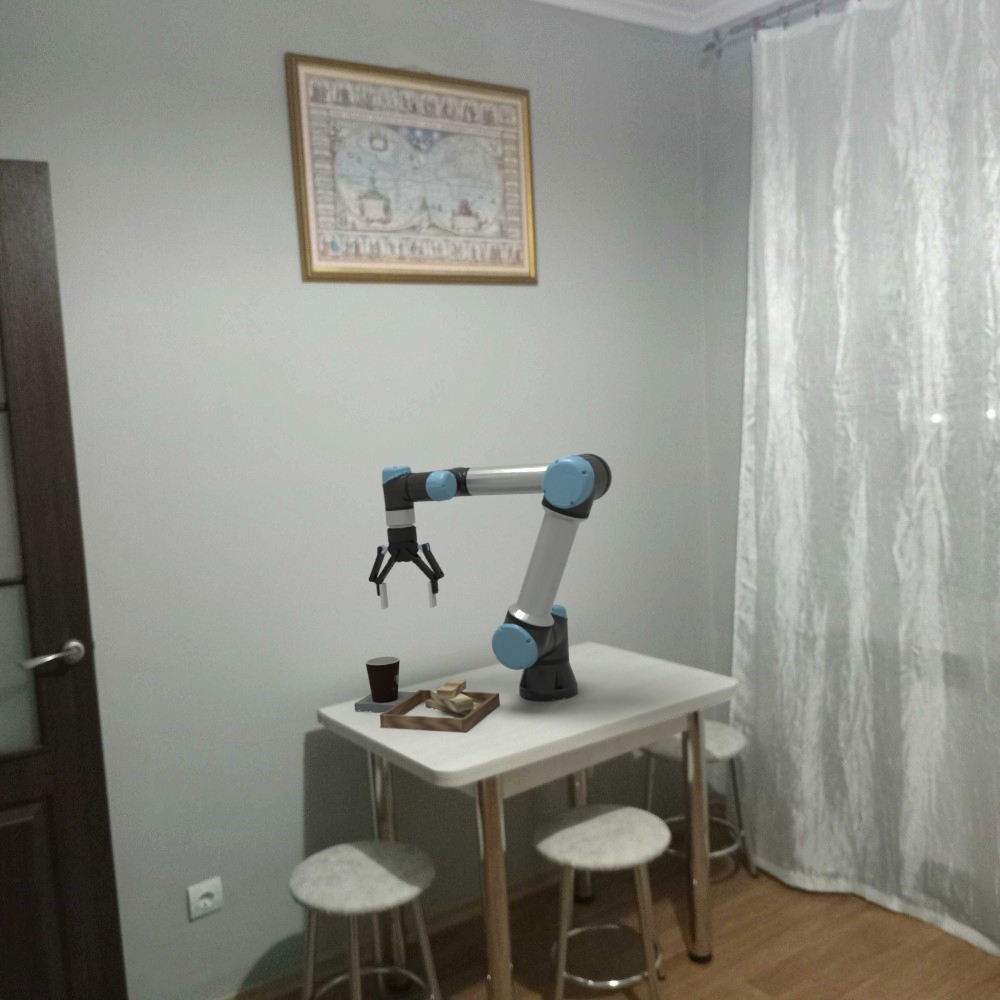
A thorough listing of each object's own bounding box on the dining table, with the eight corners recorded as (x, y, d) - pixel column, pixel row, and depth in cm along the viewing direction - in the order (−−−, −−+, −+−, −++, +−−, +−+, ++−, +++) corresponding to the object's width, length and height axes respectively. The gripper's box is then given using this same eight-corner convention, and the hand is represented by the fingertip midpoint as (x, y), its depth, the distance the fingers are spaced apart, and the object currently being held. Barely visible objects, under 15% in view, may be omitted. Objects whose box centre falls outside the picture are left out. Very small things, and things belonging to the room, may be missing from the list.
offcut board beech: (452, 699, 239) (452, 690, 239) (437, 698, 240) (436, 690, 240) (466, 688, 249) (465, 680, 248) (451, 687, 250) (450, 679, 250)
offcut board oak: (486, 713, 242) (485, 704, 241) (474, 718, 238) (473, 709, 238) (438, 705, 252) (437, 696, 252) (425, 709, 248) (425, 700, 248)
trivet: (418, 699, 256) (417, 692, 255) (397, 713, 244) (397, 705, 244) (377, 697, 260) (376, 690, 260) (355, 711, 249) (354, 703, 248)
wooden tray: (499, 704, 246) (499, 693, 246) (466, 732, 226) (465, 719, 226) (420, 700, 254) (419, 689, 254) (380, 727, 234) (379, 714, 233)
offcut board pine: (473, 708, 238) (473, 698, 238) (457, 712, 236) (456, 702, 236) (447, 696, 251) (446, 687, 250) (431, 699, 248) (430, 690, 248)
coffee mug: (388, 705, 244) (385, 666, 244) (361, 702, 249) (358, 663, 248) (416, 693, 254) (413, 655, 254) (389, 690, 259) (387, 652, 258)
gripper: (451, 521, 253) (459, 603, 255) (363, 527, 261) (371, 606, 262) (441, 524, 246) (448, 608, 248) (351, 530, 254) (359, 611, 255)
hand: (409, 607), depth 255 cm, fingers open, 13 cm apart
